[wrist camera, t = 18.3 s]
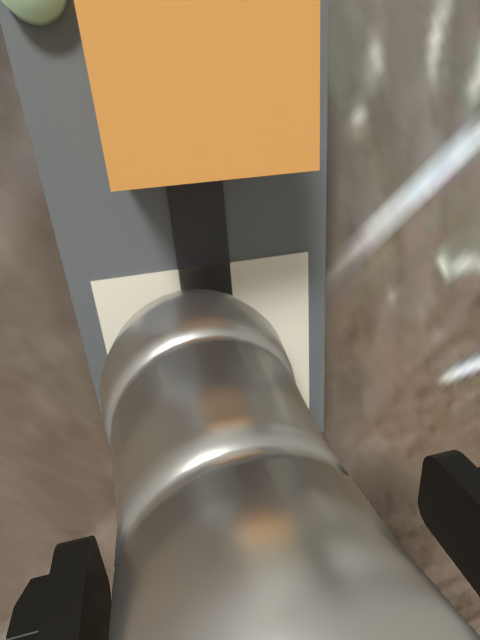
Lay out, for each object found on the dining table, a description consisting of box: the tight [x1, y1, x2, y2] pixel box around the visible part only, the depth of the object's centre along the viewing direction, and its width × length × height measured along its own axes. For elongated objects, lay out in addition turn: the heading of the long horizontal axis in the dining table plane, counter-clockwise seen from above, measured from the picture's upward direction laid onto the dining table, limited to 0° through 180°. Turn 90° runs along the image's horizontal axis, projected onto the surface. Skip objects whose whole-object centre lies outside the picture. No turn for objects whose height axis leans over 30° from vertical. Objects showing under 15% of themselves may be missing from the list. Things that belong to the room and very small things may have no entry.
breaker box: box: [0, 0, 329, 449], centre depth 18 cm, size 20×10×6 cm, turn 4°
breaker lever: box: [74, 0, 320, 192], centre depth 11 cm, size 4×5×5 cm
